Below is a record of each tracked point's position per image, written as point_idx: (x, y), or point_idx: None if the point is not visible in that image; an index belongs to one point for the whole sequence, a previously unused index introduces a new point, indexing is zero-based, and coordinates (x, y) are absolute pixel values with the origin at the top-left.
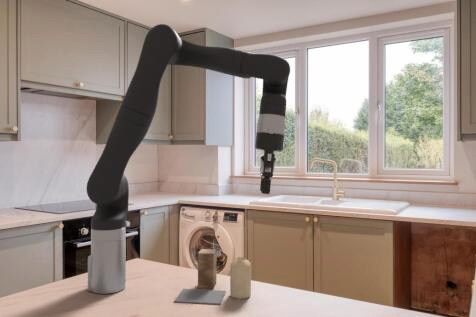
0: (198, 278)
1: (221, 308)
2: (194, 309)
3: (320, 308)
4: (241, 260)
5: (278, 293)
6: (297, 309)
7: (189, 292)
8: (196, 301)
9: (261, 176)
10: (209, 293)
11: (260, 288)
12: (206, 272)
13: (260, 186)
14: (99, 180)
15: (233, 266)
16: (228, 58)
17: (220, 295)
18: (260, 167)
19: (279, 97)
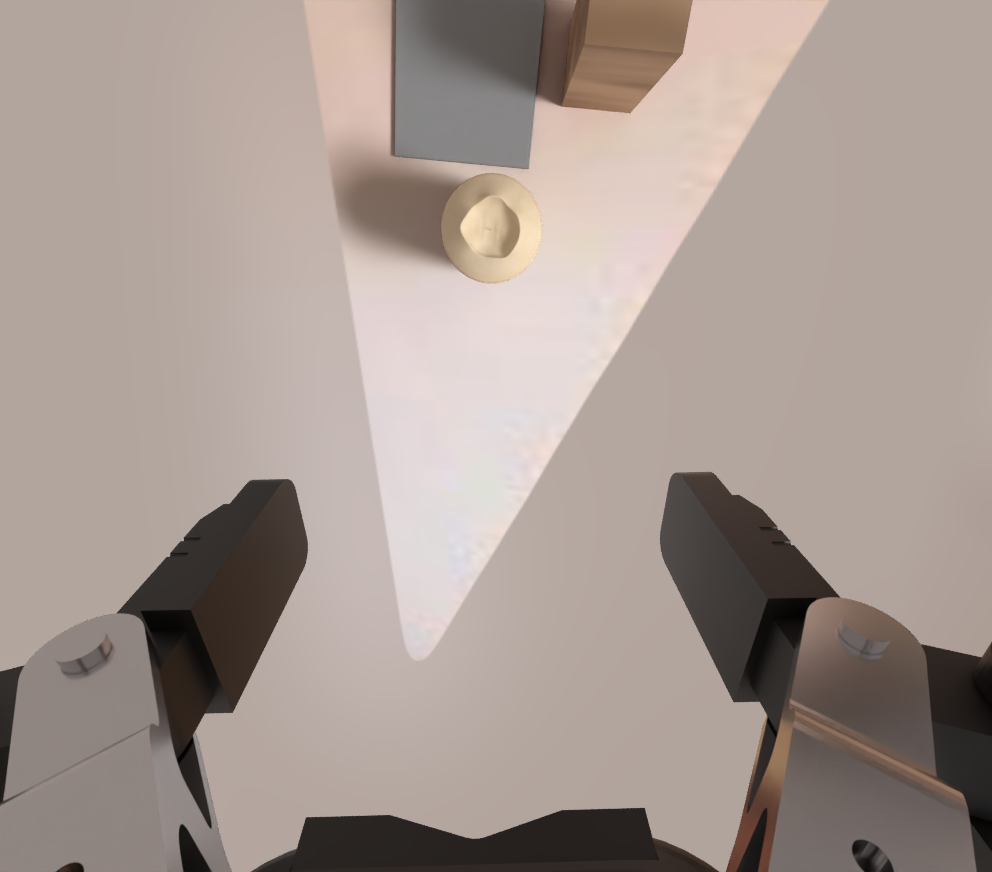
0: (577, 1)
1: (363, 165)
2: (338, 47)
3: (406, 485)
4: (460, 234)
5: (519, 377)
6: (390, 423)
7: None
8: (403, 42)
9: (799, 625)
10: (494, 93)
11: (568, 314)
12: (575, 38)
13: (700, 501)
14: None
15: (452, 193)
16: None
17: (475, 148)
18: (767, 836)
19: None
